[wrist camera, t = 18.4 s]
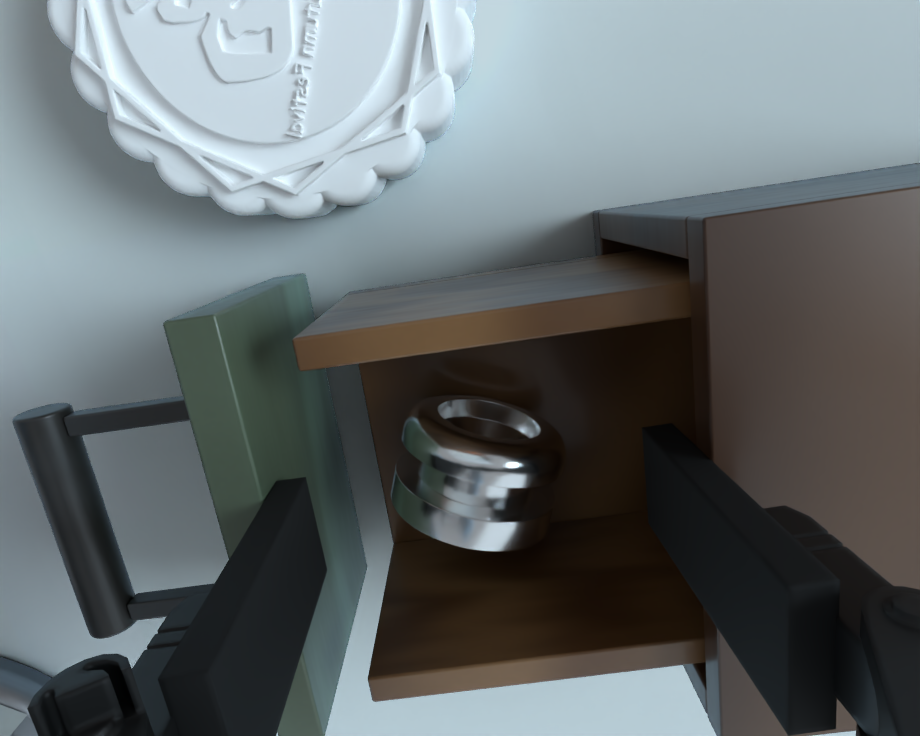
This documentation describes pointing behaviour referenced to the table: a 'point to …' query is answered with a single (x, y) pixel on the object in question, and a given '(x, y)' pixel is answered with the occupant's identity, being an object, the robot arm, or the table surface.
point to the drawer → (388, 402)
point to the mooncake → (272, 92)
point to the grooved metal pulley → (477, 472)
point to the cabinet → (801, 370)
